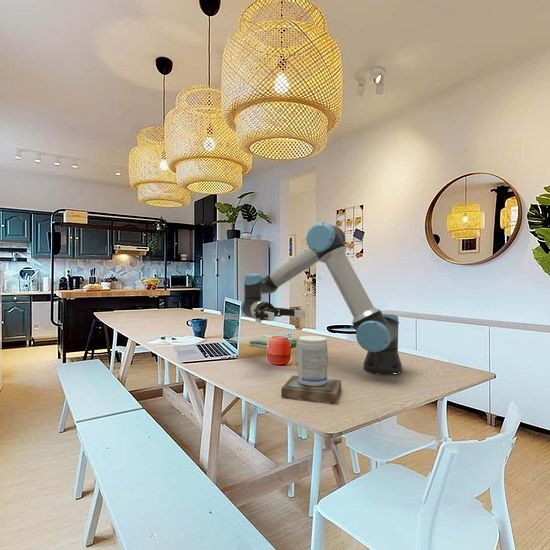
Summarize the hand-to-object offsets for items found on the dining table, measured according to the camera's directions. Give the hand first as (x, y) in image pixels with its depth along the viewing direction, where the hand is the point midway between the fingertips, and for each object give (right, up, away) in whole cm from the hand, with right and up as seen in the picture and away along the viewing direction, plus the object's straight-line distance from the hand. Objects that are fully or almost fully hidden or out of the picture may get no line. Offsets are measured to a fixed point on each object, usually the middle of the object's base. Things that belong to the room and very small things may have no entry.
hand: (289, 315), depth 138 cm
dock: (+7, -23, -17) cm, 30 cm away
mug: (+9, -23, +20) cm, 32 cm away
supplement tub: (+7, -20, -17) cm, 27 cm away
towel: (-5, -23, +59) cm, 64 cm away
